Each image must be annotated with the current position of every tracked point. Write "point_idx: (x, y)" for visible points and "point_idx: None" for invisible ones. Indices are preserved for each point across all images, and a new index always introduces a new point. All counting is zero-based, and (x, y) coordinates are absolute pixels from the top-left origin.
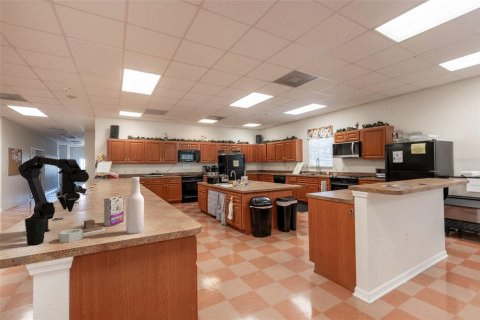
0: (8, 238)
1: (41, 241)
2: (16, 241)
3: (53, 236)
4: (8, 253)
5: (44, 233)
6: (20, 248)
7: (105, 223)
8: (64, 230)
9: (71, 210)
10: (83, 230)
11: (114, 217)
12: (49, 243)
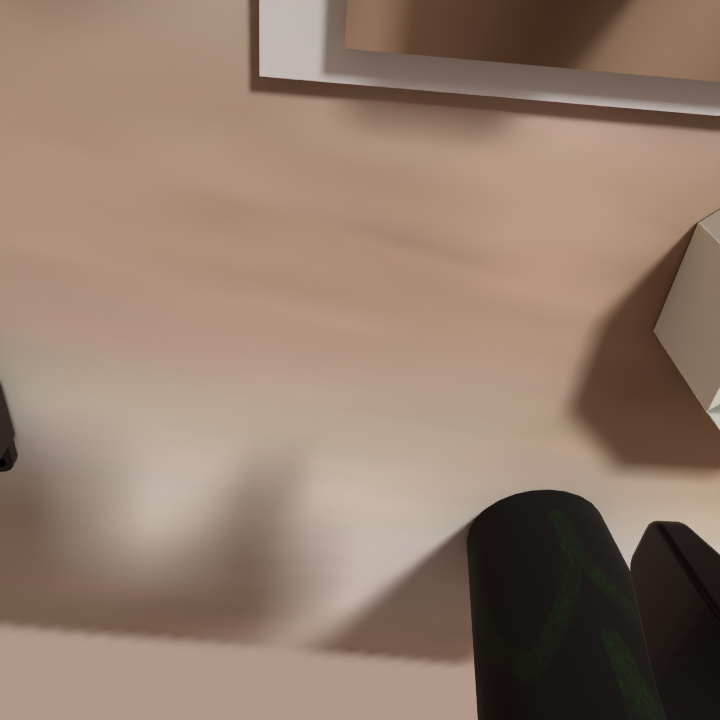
0: (47, 613)
1: (609, 532)
2: (255, 597)
3: (384, 369)
4: None
5: (611, 581)
6: None
7: None
8: (717, 406)
9: (712, 561)
10: None
11: None
12: (679, 469)
